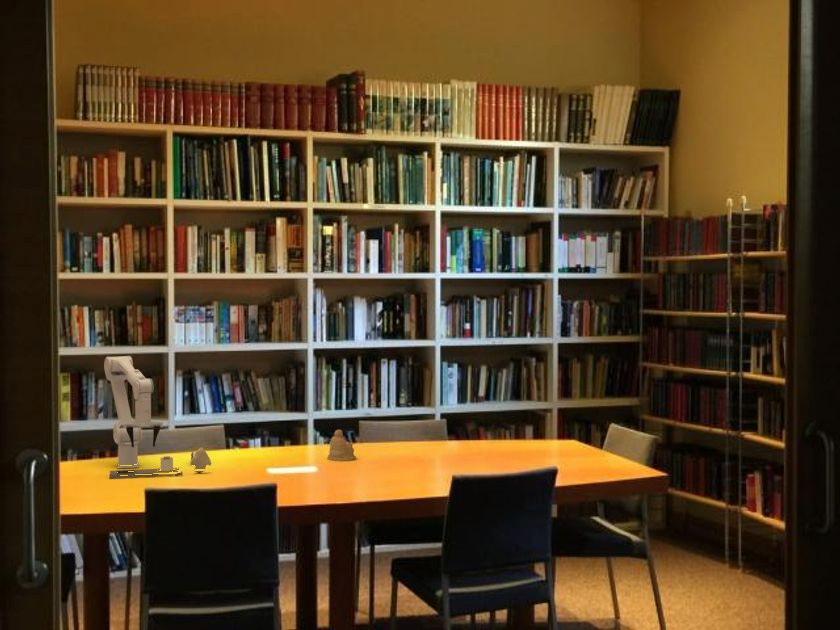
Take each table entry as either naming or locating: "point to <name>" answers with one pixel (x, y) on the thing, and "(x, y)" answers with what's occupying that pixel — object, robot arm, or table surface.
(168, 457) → the wood-topped square block
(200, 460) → the arrowhead
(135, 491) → the table surface
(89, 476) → the table surface
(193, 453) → the dark labeled box
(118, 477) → the grey slotted panel
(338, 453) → the statue
